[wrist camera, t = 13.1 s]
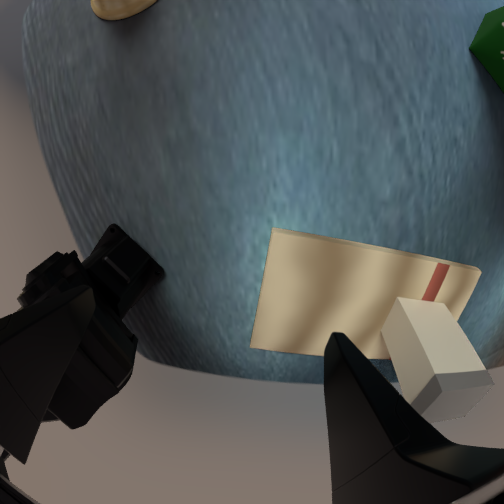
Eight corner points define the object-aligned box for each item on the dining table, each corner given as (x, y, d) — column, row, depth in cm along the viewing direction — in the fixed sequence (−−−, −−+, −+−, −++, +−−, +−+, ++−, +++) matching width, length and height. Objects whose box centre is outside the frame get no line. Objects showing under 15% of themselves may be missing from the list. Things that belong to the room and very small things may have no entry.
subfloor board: (250, 340, 27) (249, 348, 26) (272, 227, 21) (272, 232, 20) (430, 353, 26) (433, 359, 25) (476, 267, 21) (482, 272, 20)
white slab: (380, 330, 24) (410, 425, 14) (396, 296, 22) (442, 391, 12) (427, 334, 24) (464, 416, 14) (444, 302, 22) (494, 383, 12)
